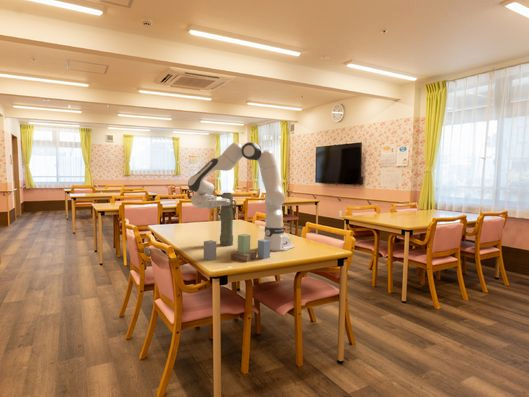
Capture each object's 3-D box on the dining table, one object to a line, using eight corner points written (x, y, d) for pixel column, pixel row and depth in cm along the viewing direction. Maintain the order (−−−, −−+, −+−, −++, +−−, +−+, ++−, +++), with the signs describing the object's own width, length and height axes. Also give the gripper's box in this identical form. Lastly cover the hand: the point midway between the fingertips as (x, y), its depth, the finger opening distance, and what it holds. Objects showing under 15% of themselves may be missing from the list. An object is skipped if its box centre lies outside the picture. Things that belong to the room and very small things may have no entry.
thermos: (236, 245, 230) (236, 193, 227) (218, 246, 228) (218, 193, 225) (234, 243, 239) (235, 192, 236) (217, 243, 236) (218, 192, 234)
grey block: (210, 257, 198) (210, 240, 197) (216, 259, 194) (216, 241, 194) (203, 258, 194) (203, 241, 193) (209, 260, 191) (209, 242, 190)
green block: (243, 250, 200) (244, 233, 199) (249, 252, 197) (250, 235, 196) (237, 252, 196) (237, 234, 196) (243, 253, 193) (244, 236, 192)
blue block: (263, 256, 204) (263, 239, 203) (269, 257, 200) (270, 240, 200) (257, 257, 200) (257, 240, 199) (263, 259, 197) (264, 241, 196)
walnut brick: (240, 256, 204) (241, 249, 204) (256, 258, 200) (256, 251, 200) (230, 260, 194) (231, 253, 193) (246, 263, 189) (246, 255, 189)
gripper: (195, 197, 212) (209, 199, 203) (221, 196, 227) (235, 197, 218) (195, 208, 213) (209, 210, 203) (221, 206, 227) (235, 207, 218)
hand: (223, 203), depth 210 cm, fingers open, 8 cm apart
